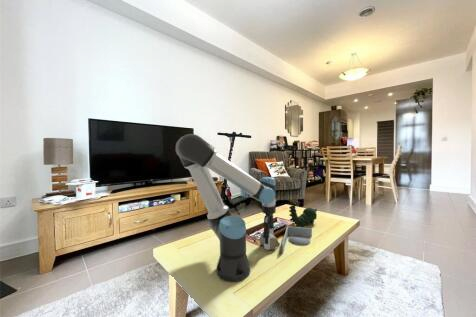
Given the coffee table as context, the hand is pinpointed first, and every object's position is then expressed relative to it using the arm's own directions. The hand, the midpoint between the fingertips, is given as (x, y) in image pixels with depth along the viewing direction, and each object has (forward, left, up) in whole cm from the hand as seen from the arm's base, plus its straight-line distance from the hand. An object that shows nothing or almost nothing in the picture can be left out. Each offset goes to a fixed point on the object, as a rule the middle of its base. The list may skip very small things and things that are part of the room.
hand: (269, 244), depth 113 cm
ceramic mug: (+1, -1, -2) cm, 2 cm away
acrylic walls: (+8, -15, -1) cm, 17 cm away
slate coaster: (+13, -15, -1) cm, 20 cm away
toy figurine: (+41, -18, -2) cm, 44 cm away
